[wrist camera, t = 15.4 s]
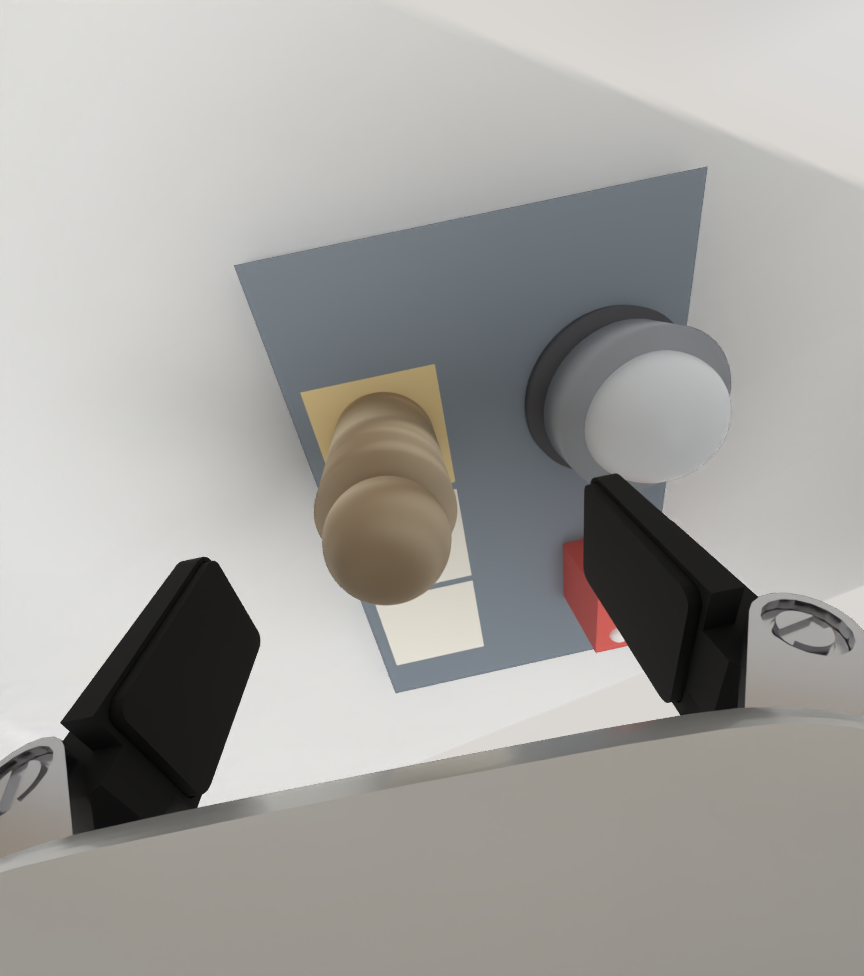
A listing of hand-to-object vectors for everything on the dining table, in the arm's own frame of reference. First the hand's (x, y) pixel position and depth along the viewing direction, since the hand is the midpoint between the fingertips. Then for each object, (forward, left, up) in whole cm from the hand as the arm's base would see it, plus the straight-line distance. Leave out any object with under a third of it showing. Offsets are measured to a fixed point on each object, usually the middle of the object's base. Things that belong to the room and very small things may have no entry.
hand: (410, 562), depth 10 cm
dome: (-9, 0, -7) cm, 12 cm away
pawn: (+1, 0, -8) cm, 8 cm away
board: (-4, +5, -10) cm, 12 cm away
